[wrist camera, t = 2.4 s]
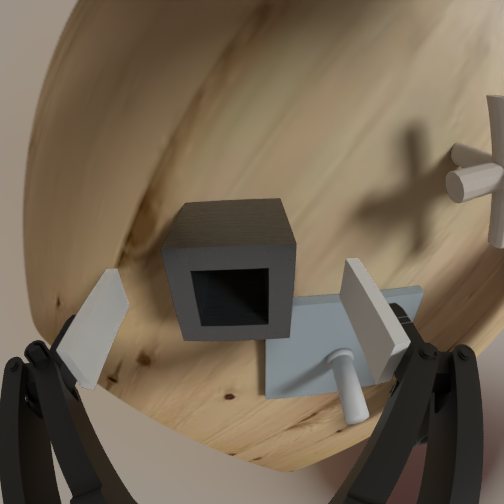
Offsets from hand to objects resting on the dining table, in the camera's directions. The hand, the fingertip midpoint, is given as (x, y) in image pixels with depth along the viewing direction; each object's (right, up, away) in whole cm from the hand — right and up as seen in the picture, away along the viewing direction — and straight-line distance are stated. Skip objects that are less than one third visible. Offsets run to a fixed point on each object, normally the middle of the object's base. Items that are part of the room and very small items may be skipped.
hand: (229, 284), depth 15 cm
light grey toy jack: (+17, +9, 0) cm, 19 cm away
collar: (0, +3, +3) cm, 4 cm away
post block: (+9, -8, +9) cm, 15 cm away
